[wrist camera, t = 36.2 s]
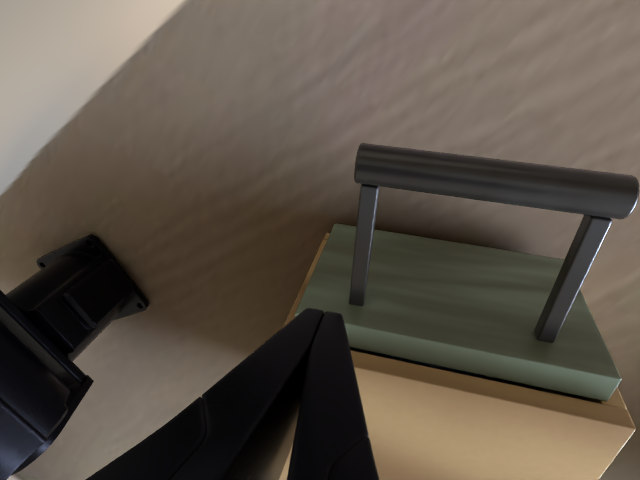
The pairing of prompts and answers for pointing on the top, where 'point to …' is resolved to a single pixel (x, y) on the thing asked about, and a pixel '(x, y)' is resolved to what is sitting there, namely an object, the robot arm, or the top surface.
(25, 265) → the top surface
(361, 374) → the cabinet
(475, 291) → the drawer
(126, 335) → the top surface
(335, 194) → the top surface
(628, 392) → the top surface
